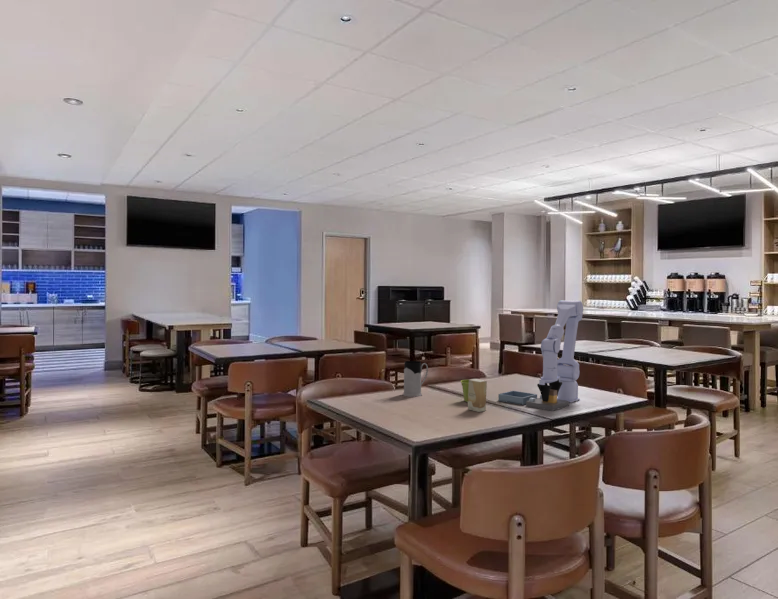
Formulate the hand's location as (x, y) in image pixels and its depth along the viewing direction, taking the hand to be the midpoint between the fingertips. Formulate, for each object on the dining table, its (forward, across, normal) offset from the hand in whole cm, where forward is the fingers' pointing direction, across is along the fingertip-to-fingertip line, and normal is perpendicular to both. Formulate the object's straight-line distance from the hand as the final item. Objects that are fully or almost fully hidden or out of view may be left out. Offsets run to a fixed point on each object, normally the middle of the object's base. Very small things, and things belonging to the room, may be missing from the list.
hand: (549, 400), depth 228 cm
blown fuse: (+3, 0, 0) cm, 3 cm away
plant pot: (+3, +15, -29) cm, 33 cm away
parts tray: (+3, 0, -15) cm, 15 cm away
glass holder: (+3, +20, -56) cm, 60 cm away
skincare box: (+3, +28, -17) cm, 33 cm away
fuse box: (+3, 0, -1) cm, 3 cm away
